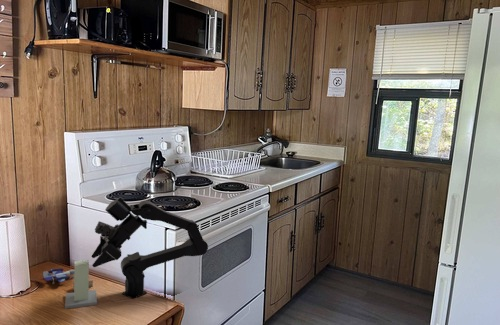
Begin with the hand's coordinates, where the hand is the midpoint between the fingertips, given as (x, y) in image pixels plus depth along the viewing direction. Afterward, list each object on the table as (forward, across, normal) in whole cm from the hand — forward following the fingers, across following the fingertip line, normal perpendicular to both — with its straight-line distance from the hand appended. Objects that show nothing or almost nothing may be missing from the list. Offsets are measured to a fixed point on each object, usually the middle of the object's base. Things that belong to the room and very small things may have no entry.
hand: (92, 261), depth 137 cm
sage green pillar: (+11, 0, +6) cm, 13 cm away
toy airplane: (+17, -20, +3) cm, 26 cm away
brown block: (+12, -10, +8) cm, 17 cm away
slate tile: (+12, 0, +7) cm, 14 cm away
